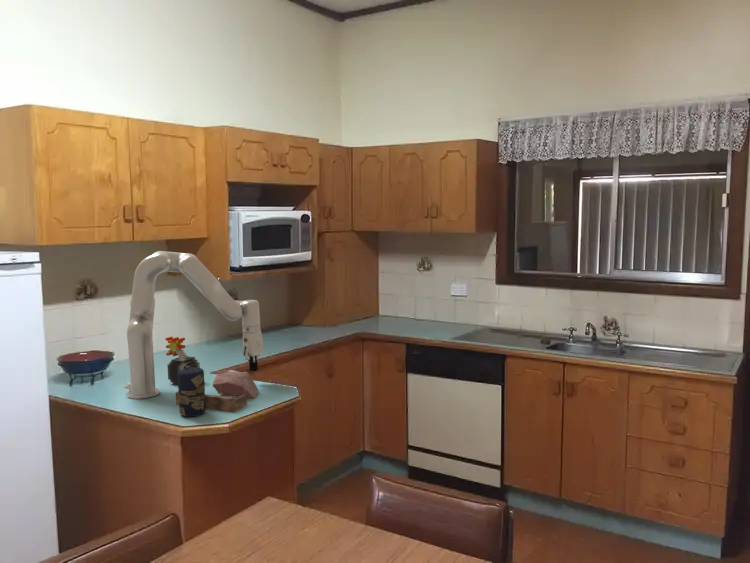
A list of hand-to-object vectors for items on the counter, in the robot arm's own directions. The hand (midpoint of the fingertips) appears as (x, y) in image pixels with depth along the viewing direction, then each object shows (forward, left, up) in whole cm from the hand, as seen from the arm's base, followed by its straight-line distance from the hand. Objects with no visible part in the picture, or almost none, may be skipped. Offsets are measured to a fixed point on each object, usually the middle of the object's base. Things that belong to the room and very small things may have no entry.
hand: (253, 370), depth 284 cm
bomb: (-31, -8, -6) cm, 33 cm away
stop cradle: (0, -30, -6) cm, 31 cm away
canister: (0, -42, -6) cm, 43 cm away
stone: (+1, -14, -7) cm, 16 cm away
